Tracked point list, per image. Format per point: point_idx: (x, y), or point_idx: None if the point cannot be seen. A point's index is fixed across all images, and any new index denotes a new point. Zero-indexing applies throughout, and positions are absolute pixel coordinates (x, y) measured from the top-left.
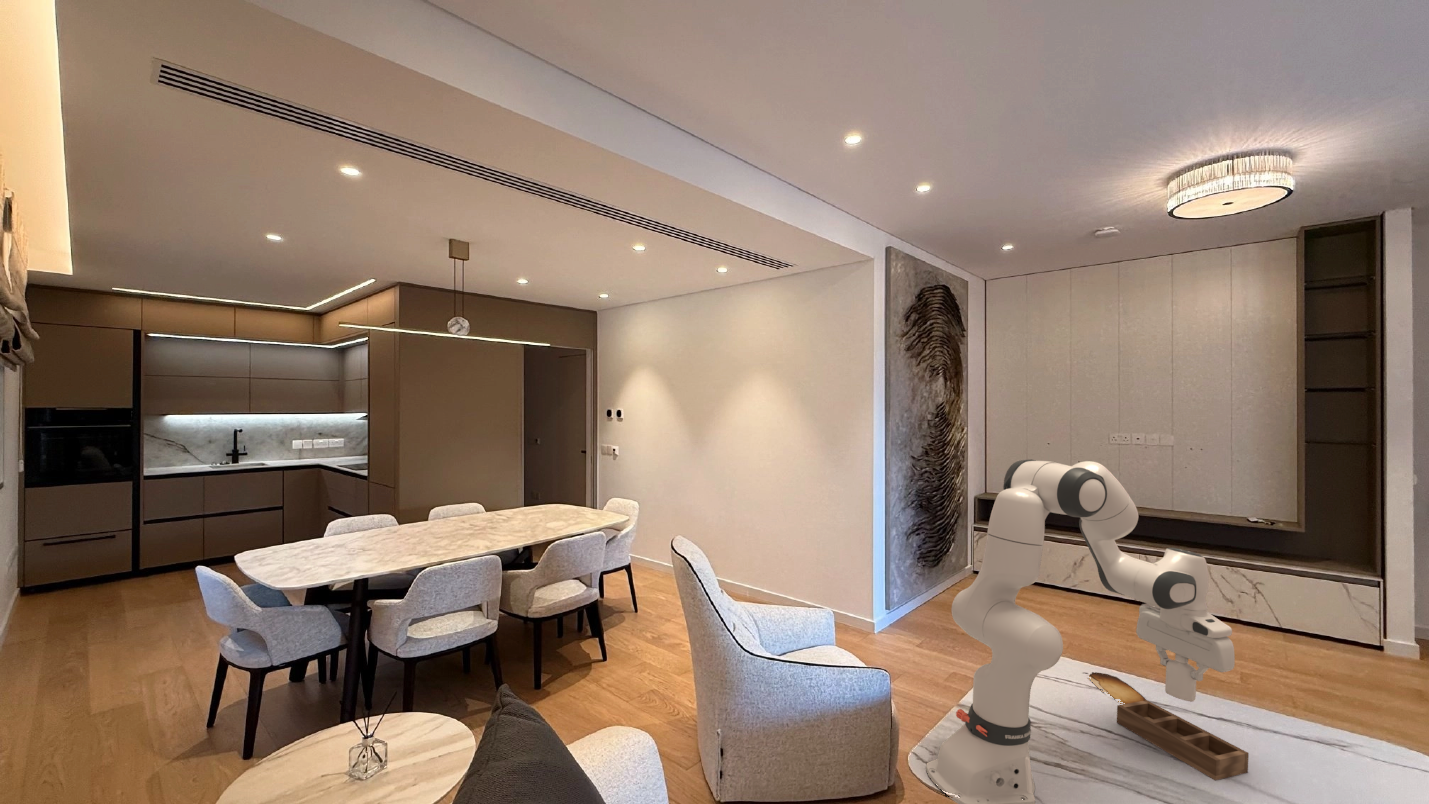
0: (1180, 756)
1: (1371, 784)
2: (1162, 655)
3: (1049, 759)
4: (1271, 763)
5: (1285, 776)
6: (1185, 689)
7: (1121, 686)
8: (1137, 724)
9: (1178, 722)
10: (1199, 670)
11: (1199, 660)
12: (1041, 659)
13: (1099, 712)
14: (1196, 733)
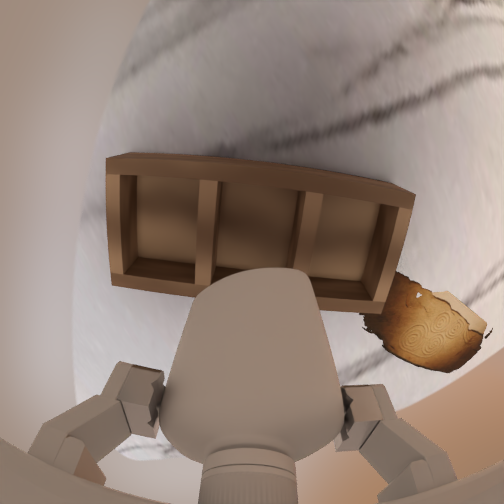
0: (211, 157)
1: (89, 393)
2: (391, 440)
3: None
4: (145, 340)
5: (111, 316)
6: (209, 310)
7: (436, 352)
8: (344, 176)
9: None
10: (76, 416)
11: (4, 470)
12: None
13: (434, 194)
14: None
